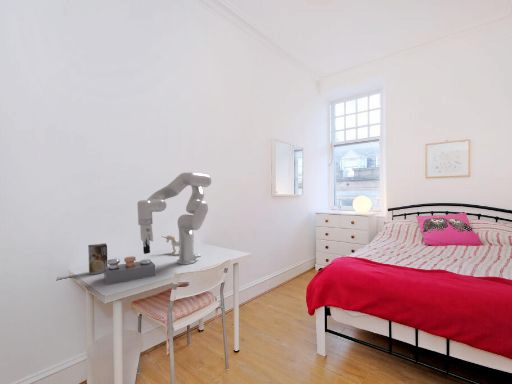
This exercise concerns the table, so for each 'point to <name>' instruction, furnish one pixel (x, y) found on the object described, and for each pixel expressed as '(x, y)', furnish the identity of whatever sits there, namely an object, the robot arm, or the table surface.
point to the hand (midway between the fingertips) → (146, 253)
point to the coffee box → (97, 258)
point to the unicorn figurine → (174, 242)
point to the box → (128, 272)
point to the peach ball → (129, 261)
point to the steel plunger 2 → (145, 262)
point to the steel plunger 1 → (113, 263)
